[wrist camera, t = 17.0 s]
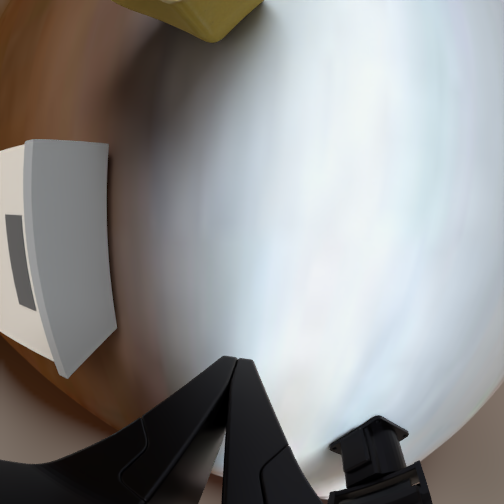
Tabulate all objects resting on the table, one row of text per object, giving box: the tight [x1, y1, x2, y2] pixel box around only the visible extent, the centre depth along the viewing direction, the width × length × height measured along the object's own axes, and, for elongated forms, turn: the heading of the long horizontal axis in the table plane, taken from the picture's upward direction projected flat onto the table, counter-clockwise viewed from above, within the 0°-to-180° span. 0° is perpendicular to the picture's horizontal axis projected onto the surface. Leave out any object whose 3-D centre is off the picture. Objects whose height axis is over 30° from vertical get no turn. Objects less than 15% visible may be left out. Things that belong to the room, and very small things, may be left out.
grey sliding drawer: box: [23, 139, 117, 379], centre depth 15 cm, size 12×14×7 cm
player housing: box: [0, 144, 54, 361], centre depth 16 cm, size 12×14×7 cm
